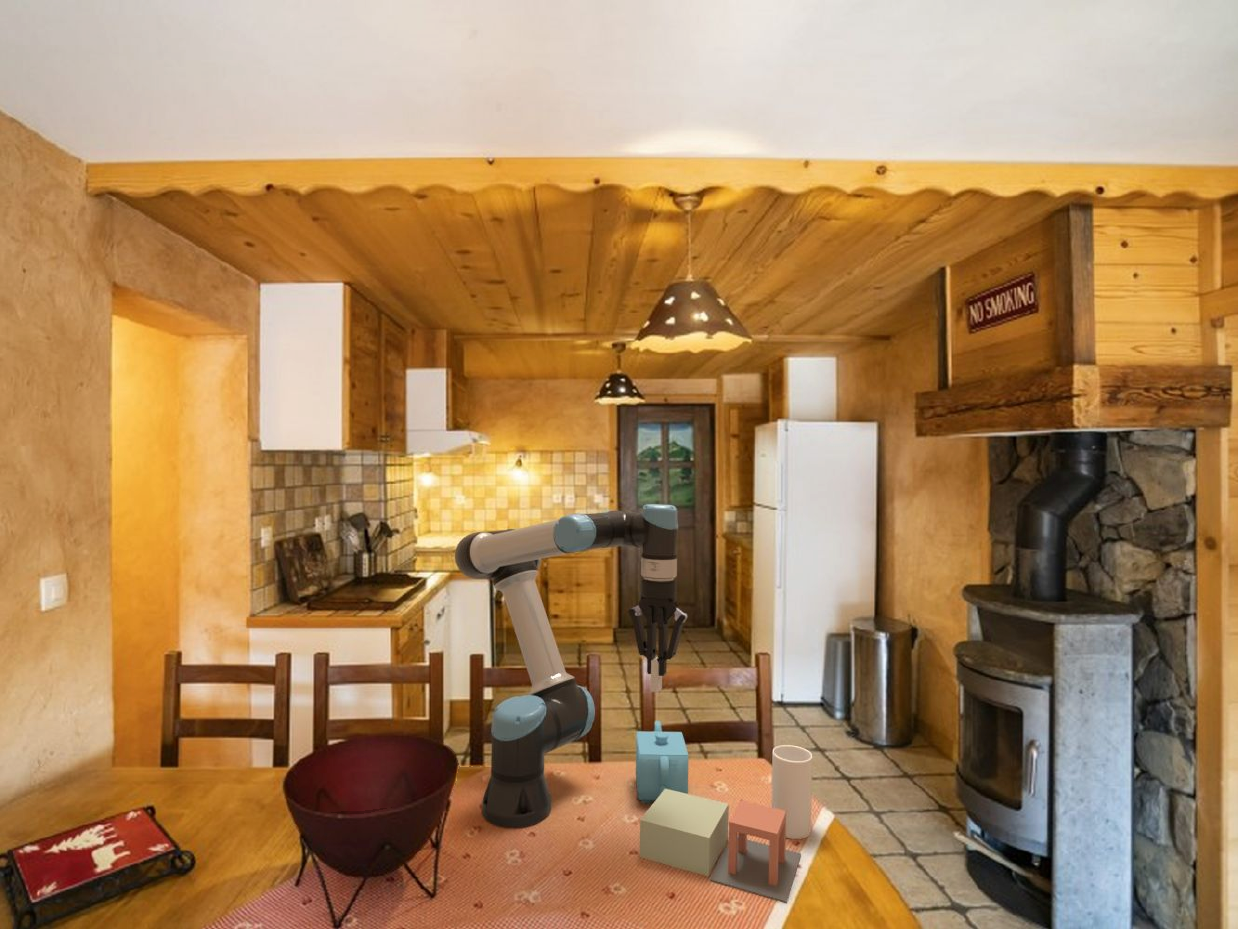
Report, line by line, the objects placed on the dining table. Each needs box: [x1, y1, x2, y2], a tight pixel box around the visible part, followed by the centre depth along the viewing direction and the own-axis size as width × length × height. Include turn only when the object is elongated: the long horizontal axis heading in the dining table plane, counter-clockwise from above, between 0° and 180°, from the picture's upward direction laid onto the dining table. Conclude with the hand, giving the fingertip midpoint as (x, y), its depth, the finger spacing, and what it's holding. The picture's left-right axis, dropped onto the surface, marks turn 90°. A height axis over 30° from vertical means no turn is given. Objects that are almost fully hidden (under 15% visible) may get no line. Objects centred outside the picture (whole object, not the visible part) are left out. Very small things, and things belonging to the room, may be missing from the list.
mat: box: [709, 839, 802, 904], centre depth 125 cm, size 14×16×1 cm
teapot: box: [635, 720, 690, 804], centre depth 154 cm, size 22×11×14 cm, turn 1°
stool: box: [728, 799, 787, 886], centre depth 125 cm, size 10×9×9 cm
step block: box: [638, 789, 730, 878], centre depth 131 cm, size 14×14×7 cm
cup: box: [770, 744, 813, 840], centre depth 139 cm, size 8×8×16 cm
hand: (656, 690), depth 137 cm, fingers closed
